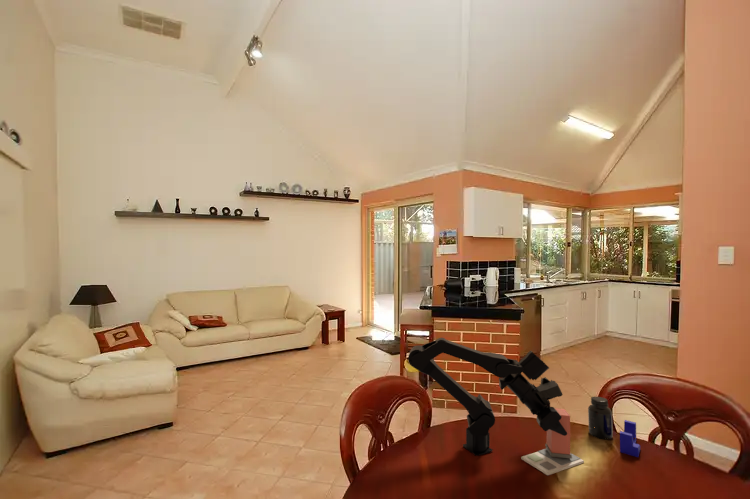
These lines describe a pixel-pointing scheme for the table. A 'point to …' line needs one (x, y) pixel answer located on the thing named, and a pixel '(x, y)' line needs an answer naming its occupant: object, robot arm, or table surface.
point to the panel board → (550, 462)
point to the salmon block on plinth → (560, 438)
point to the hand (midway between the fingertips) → (563, 430)
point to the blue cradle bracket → (629, 439)
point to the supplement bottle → (600, 418)
